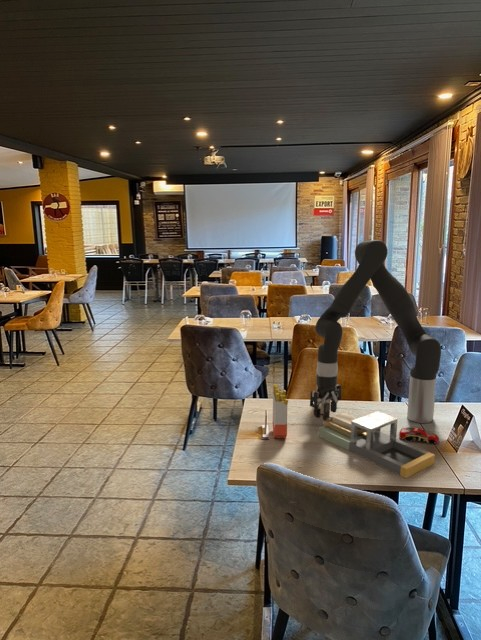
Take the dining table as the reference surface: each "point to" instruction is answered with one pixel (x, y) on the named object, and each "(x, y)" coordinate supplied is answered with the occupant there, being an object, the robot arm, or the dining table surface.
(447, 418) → the dining table surface
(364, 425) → the steel tunnel
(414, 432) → the race car
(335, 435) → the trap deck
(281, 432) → the french fries container
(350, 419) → the ash block
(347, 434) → the sled frame
